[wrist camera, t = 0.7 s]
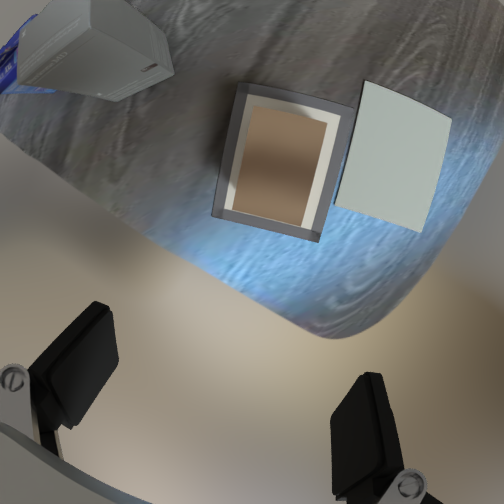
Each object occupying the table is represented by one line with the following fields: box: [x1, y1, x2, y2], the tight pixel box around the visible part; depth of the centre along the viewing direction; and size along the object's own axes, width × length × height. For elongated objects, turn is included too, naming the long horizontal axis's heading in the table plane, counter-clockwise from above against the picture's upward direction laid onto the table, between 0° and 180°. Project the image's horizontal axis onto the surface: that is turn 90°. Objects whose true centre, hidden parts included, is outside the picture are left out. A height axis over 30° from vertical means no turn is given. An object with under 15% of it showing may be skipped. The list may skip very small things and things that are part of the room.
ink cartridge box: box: [0, 14, 57, 94], centre depth 18 cm, size 10×6×14 cm, turn 104°
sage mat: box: [335, 81, 452, 233], centre depth 25 cm, size 14×11×1 cm
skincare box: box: [17, 0, 174, 102], centre depth 17 cm, size 8×7×16 cm
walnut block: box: [232, 106, 327, 227], centre depth 24 cm, size 9×6×6 cm, turn 168°
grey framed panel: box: [212, 82, 354, 243], centre depth 28 cm, size 15×12×1 cm
